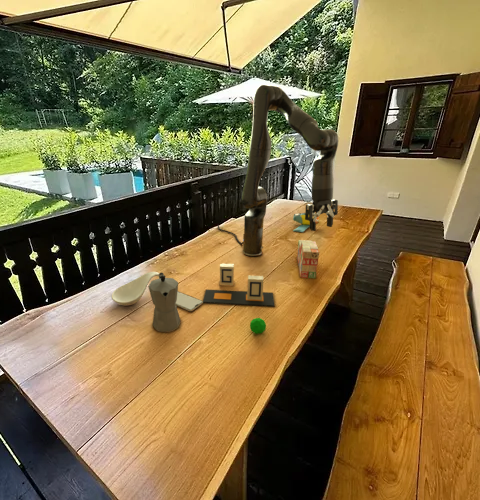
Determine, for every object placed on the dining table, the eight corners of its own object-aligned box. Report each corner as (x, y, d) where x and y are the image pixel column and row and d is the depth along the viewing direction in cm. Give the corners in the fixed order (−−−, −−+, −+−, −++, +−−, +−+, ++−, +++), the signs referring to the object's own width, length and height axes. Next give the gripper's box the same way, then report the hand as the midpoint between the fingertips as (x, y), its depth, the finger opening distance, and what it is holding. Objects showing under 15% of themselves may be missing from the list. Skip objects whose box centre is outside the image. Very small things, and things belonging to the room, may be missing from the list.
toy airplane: (310, 219, 174) (285, 216, 182) (308, 233, 177) (284, 229, 186) (325, 209, 194) (303, 206, 203) (324, 222, 197) (302, 218, 206)
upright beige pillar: (247, 295, 114) (248, 275, 111) (261, 295, 113) (263, 275, 110) (247, 299, 111) (248, 279, 108) (262, 300, 110) (263, 280, 107)
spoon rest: (125, 314, 105) (122, 296, 102) (106, 302, 112) (103, 286, 110) (173, 287, 122) (172, 271, 119) (154, 279, 129) (153, 264, 126)
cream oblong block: (220, 281, 125) (220, 263, 122) (233, 282, 125) (233, 263, 122) (219, 285, 123) (219, 266, 119) (233, 286, 122) (233, 267, 119)
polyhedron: (254, 325, 98) (255, 312, 96) (268, 331, 95) (269, 318, 93) (246, 332, 94) (247, 320, 93) (260, 339, 91) (261, 326, 90)
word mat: (202, 303, 111) (202, 301, 110) (205, 290, 119) (205, 289, 119) (274, 306, 107) (274, 305, 107) (272, 293, 116) (272, 292, 115)
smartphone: (173, 289, 119) (203, 301, 110) (174, 291, 119) (203, 302, 111) (160, 297, 113) (191, 310, 105) (160, 299, 114) (191, 312, 105)
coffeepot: (183, 334, 95) (180, 283, 88) (153, 338, 93) (148, 288, 86) (177, 307, 108) (174, 262, 101) (150, 311, 107) (146, 265, 100)
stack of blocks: (296, 257, 147) (299, 233, 142) (310, 258, 146) (313, 234, 141) (300, 277, 127) (303, 250, 123) (315, 278, 126) (319, 251, 121)
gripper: (328, 183, 118) (327, 223, 123) (300, 188, 113) (300, 230, 118) (344, 184, 112) (342, 227, 117) (315, 189, 106) (314, 233, 111)
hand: (321, 228), depth 117 cm, fingers open, 8 cm apart
